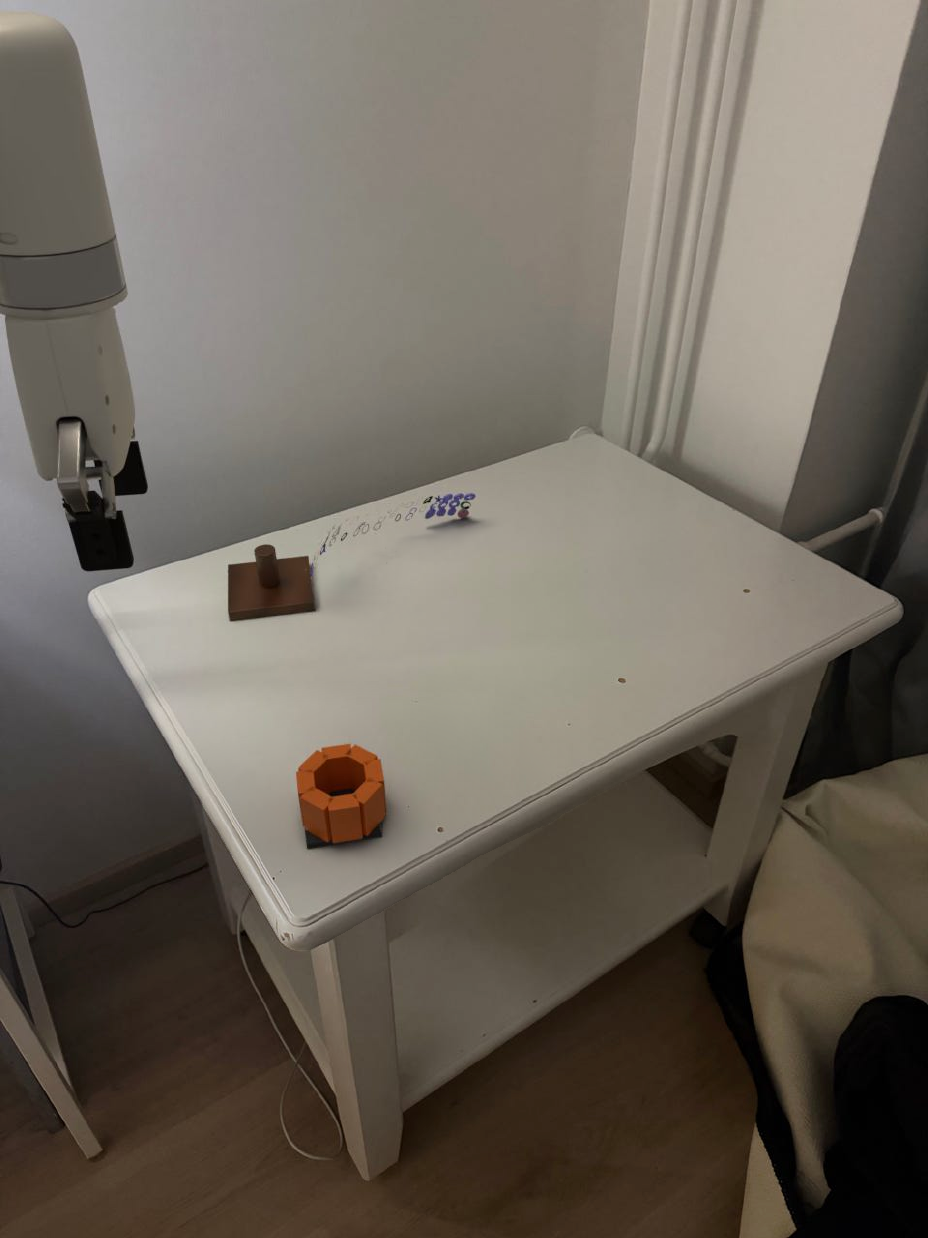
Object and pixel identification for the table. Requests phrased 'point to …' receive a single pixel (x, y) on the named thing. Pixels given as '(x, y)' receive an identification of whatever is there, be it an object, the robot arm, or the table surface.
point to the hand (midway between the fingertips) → (117, 528)
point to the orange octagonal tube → (344, 812)
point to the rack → (269, 586)
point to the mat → (315, 841)
